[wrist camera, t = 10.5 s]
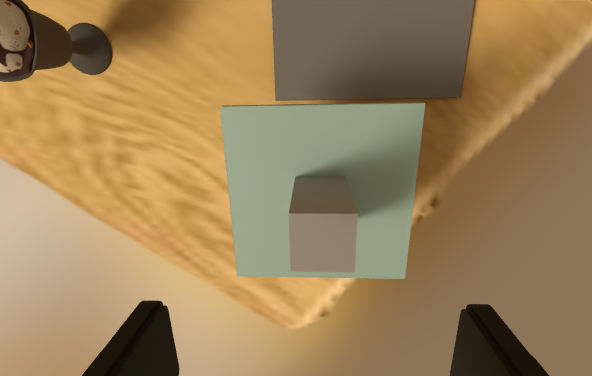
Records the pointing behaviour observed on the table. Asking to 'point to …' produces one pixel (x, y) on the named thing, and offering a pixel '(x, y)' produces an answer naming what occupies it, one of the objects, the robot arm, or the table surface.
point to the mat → (370, 48)
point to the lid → (322, 187)
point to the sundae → (46, 44)
